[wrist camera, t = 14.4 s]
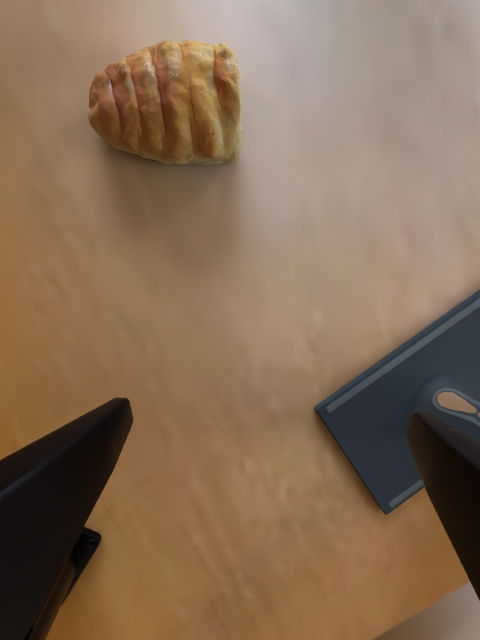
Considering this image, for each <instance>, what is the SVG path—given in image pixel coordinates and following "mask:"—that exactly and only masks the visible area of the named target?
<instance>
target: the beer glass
mask: <svg viewBox="0 0 480 640" xmlns="http://www.w3.org/2000/svg"><path fill="white" fill-rule="evenodd" d="M413 412H428V413H431V414H432V415H434V416H436V417H437V418H439V419H441V420H442V421H444V422H445V423H447V424H449V425H450V426H452V427H454V428H455V429H457V430H459V431H460V432H462V433H464V434H465V435H467V436H469V437H470V438H472V439H474V440H475V441H477V442H479V443H480V386H479V385H477V384H475V383H474V382H472V381H470V380H468V379H466V378H464V377H462V376H459V375H456V374H442V375H438V376H436V377H434V378H432V379H430V380H429V381H427V382H426V383H425V384H424V385H423V386H422V387H421V388H420V390H419V391H418V393H417V394H416V396H415V399H414V401H413V405H412V413H413Z"/></svg>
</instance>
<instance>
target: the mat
mask: <svg viewBox="0 0 480 640" xmlns="http://www.w3.org/2000/svg"><path fill="white" fill-rule="evenodd" d="M442 374H456V375H459V376H462V377H464V378H466V379H468V380H470V381H472V382H474V383H475V384H477V385H479V386H480V290H479V291H478V292H476V293H475V294H473V295H472V296H471V297H469V298H468V299H466V300H465V301H464V302H462V303H461V304H459V305H458V306H457V307H455V308H454V309H452V310H451V311H449V312H448V313H447V314H445V315H444V316H442V317H441V318H440V319H438V320H437V321H435V322H434V323H433V324H431V325H430V326H428V327H427V328H426V329H424V330H423V331H421V332H420V333H418V334H417V335H416V336H414V337H413V338H411V339H410V340H409V341H407V342H406V343H404V344H403V345H402V346H400V347H399V348H397V349H396V350H395V351H393V352H392V353H390V354H389V355H388V356H386V357H385V358H383V359H382V360H380V361H379V362H378V363H376V364H375V365H373V366H372V367H371V368H369V369H368V370H366V371H365V372H364V373H362V374H361V375H359V376H358V377H357V378H355V379H354V380H352V381H351V382H349V383H348V384H347V385H345V386H344V387H342V388H341V389H340V390H338V391H337V392H335V393H334V394H333V395H331V396H330V397H328V398H327V399H326V400H324V401H323V402H321V403H320V404H319V405H317V406H316V407H314V408H315V410H316V411H317V413H318V414H319V416H320V417H321V419H322V420H323V422H324V423H325V425H326V426H327V428H328V429H329V431H330V433H331V434H332V436H333V437H334V439H335V440H336V442H337V443H338V445H339V446H340V448H341V449H342V451H343V452H344V454H345V455H346V457H347V458H348V460H349V461H350V463H351V464H352V466H353V467H354V469H355V470H356V472H357V473H358V475H359V476H360V478H361V479H362V481H363V482H364V484H365V485H366V487H367V488H368V490H369V491H370V493H371V494H372V496H373V497H374V499H375V500H376V502H377V503H378V505H379V506H380V508H381V509H382V511H383V512H384V514H385V515H387V514H389V513H390V512H391V511H393V510H394V509H395V508H397V507H398V506H399V505H401V504H402V503H403V502H405V501H406V500H408V499H409V498H410V497H412V496H413V495H414V494H416V493H417V492H418V491H420V490H421V489H422V488H424V487H425V486H424V484H423V481H422V478H421V476H420V473H419V470H418V468H417V465H416V462H415V460H414V457H413V454H412V452H411V449H410V446H409V444H408V441H407V429H408V425H409V421H410V417H411V414H412V405H413V401H414V399H415V396H416V394H417V393H418V391H419V390H420V388H421V387H422V386H423V385H424V384H425V383H426V382H427V381H429V380H430V379H432V378H434V377H436V376H438V375H442Z"/></svg>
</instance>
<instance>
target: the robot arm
mask: <svg viewBox="0 0 480 640" xmlns="http://www.w3.org/2000/svg"><path fill="white" fill-rule="evenodd" d="M132 423H133V415H132V410H131V406H130V401H129V400H128V399H127V398H114V399H112V400H110V401H108V402H107V403H105V404H103V405H101V406H99V407H97V408H96V409H94V410H92V411H90V412H88V413H86V414H85V415H83V416H81V417H79V418H77V419H75V420H73V421H72V422H70V423H68V424H66V425H64V426H62V427H61V428H59V429H57V430H55V431H53V432H51V433H50V434H48V435H46V436H44V437H42V438H40V439H39V440H37V441H35V442H33V443H31V444H29V445H27V446H26V447H24V448H22V449H20V450H18V451H16V452H15V453H13V454H11V455H9V456H7V457H5V458H4V459H2V460H0V640H46V637H47V635H48V633H49V631H50V629H51V626H52V624H53V622H54V620H55V617H56V615H57V613H58V611H59V609H60V607H61V605H62V604H63V602H64V601H65V599H66V598H67V596H68V594H69V593H70V591H71V589H72V588H73V586H74V585H75V583H76V581H77V580H78V578H79V576H80V575H81V573H82V572H83V570H84V568H85V567H86V565H87V564H88V562H89V560H90V559H91V557H92V555H93V554H94V552H95V551H96V549H97V547H98V546H99V543H100V541H101V535H100V534H99V533H97V532H95V531H92V530H90V529H87V528H85V527H84V525H85V523H86V521H87V519H88V517H89V516H90V514H91V512H92V510H93V508H94V506H95V504H96V502H97V500H98V498H99V497H100V495H101V493H102V491H103V489H104V487H105V485H106V483H107V481H108V479H109V478H110V476H111V474H112V472H113V470H114V468H115V465H116V463H117V461H118V458H119V456H120V453H121V451H122V448H123V446H124V444H125V441H126V439H127V436H128V434H129V431H130V429H131V426H132ZM407 441H408V444H409V446H410V449H411V452H412V454H413V457H414V460H415V462H416V465H417V468H418V470H419V473H420V476H421V478H422V481H423V484H424V486H425V489H426V491H427V494H428V496H429V498H430V500H431V502H432V504H433V506H434V508H435V510H436V512H437V514H438V516H439V518H440V521H441V523H442V525H443V527H444V529H445V531H446V533H447V535H448V537H449V539H450V541H451V543H452V545H453V547H454V549H455V551H456V553H457V555H458V557H459V559H460V561H461V563H462V565H463V567H464V570H465V572H466V574H467V576H468V578H469V580H470V582H471V584H472V586H473V588H474V590H475V592H476V594H477V596H478V598H479V600H480V443H479V442H477V441H475V440H474V439H472V438H470V437H469V436H467V435H465V434H464V433H462V432H460V431H459V430H457V429H455V428H454V427H452V426H450V425H449V424H447V423H445V422H444V421H442V420H441V419H439V418H437V417H436V416H434V415H432V414H431V413H428V412H413V413H412V414H411V417H410V421H409V425H408V429H407ZM92 540H95V541H92Z"/></svg>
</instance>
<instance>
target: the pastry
mask: <svg viewBox="0 0 480 640" xmlns="http://www.w3.org/2000/svg"><path fill="white" fill-rule="evenodd" d="M236 63H237V62H236V58H235V55H234V53H233V51H232V50H231V49H230V48H229V47H227V46H226V45H225V44H223V43H222V44H219V45H217V46H216V45H210V44H206V43H202V42H196V41H184V42H181V43H173V42H170V41H163V42H161V43H158V44H156V45H154V46H151V47H147V48H144V49H142V50H141V51H140V52H139V53H136V54H132V55H129V56H127V57H126V58H125V59H122V60H120V61H119V62H117V63H115V64H111V65H109V66H108V67H107V68H106V69H105V70H104V71H102V72H100V73H98V74H96V75H95V77H94V79H93V82H92V84H91V87H90V92H89V108H90V110H89V115H88V117H89V122H90V124H91V126H92V127H93V129H94V130H95V131H96V132H97V133H98V134H99V135H100V136H101V137H102V138H103V139H104V140H105V141H106V142H107V143H108V144H109V145H110V146H111V147H113V148H115V149H118V150H124V151H126V152H128V153H135V154H137V155H139V156H141V157H143V158H147V159H154V160H157V161H160V162H162V163H164V164H166V165H170V164H175V165H183V164H192V165H197V164H201V165H203V164H207V165H219V164H222V163H231V162H234V161H236V160H238V159H239V157H240V155H241V153H242V129H241V119H240V114H241V105H240V77H239V71H238V68H237V65H236Z"/></svg>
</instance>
